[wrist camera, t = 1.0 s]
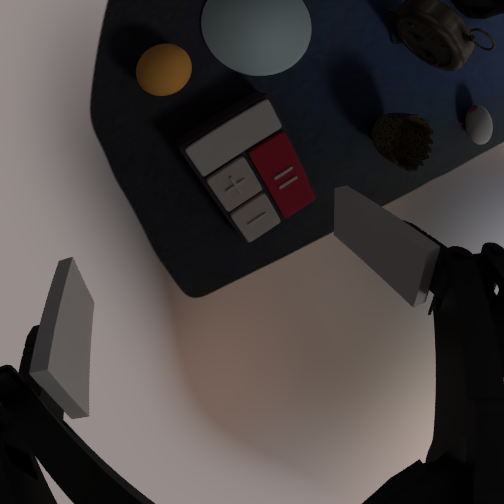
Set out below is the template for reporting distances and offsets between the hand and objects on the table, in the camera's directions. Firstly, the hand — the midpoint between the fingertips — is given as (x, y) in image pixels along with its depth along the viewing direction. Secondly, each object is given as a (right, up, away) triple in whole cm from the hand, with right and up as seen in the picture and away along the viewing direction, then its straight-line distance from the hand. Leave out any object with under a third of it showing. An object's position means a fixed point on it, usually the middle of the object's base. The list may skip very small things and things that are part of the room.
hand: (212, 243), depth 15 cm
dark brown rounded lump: (+19, +17, +25) cm, 36 cm away
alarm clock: (+23, +30, +18) cm, 42 cm away
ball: (-7, +17, +11) cm, 22 cm away
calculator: (+1, +10, +23) cm, 25 cm away
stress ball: (+42, +24, +29) cm, 57 cm away
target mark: (+3, +25, +14) cm, 29 cm away
